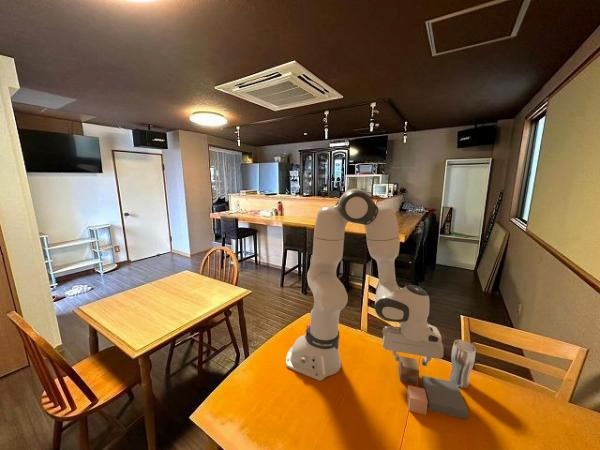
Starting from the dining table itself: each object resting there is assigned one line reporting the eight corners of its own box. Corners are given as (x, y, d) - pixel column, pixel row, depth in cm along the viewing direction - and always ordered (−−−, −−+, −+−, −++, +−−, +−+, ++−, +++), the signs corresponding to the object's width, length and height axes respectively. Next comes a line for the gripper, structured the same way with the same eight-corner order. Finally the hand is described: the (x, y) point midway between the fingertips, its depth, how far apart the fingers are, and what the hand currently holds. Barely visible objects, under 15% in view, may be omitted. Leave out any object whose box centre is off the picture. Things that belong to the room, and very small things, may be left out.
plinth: (428, 409, 78) (429, 402, 77) (421, 382, 88) (422, 375, 87) (467, 419, 74) (468, 411, 74) (455, 389, 85) (456, 382, 84)
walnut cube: (399, 381, 89) (401, 367, 87) (398, 369, 94) (399, 355, 93) (417, 385, 87) (419, 370, 86) (414, 372, 93) (416, 359, 91)
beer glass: (474, 391, 84) (480, 354, 81) (452, 387, 86) (458, 351, 83) (465, 375, 91) (470, 340, 88) (445, 372, 92) (449, 338, 89)
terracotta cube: (409, 410, 77) (410, 397, 76) (406, 397, 82) (408, 385, 81) (426, 415, 76) (427, 402, 75) (422, 401, 81) (424, 388, 80)
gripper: (383, 330, 86) (381, 363, 89) (447, 339, 81) (442, 374, 84) (382, 320, 92) (380, 351, 95) (441, 328, 87) (437, 361, 90)
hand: (410, 362), depth 89 cm, fingers open, 8 cm apart
